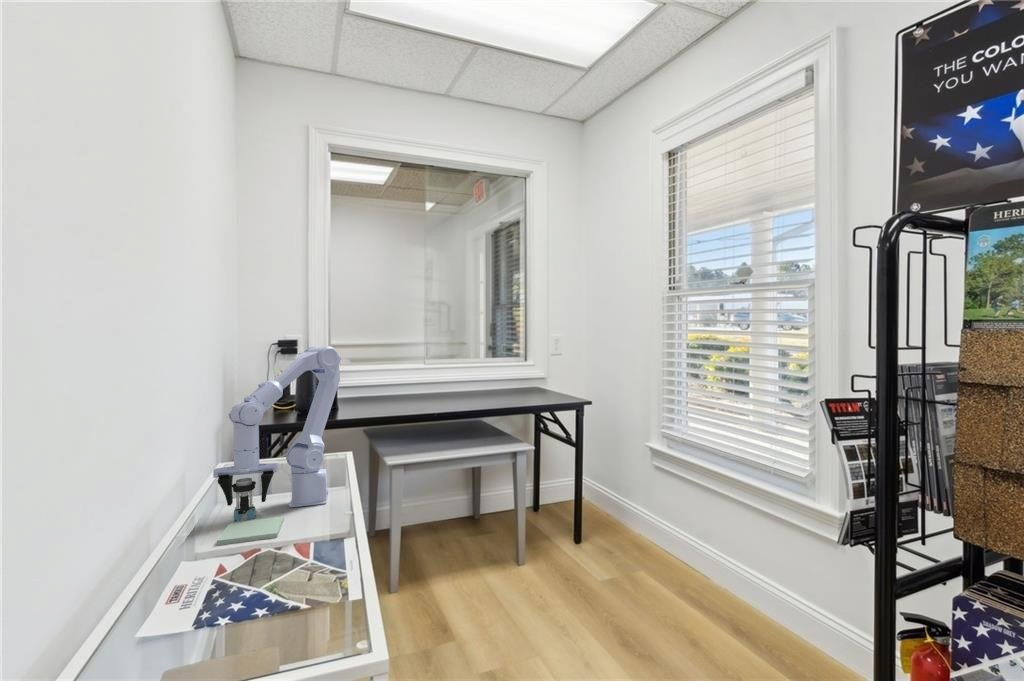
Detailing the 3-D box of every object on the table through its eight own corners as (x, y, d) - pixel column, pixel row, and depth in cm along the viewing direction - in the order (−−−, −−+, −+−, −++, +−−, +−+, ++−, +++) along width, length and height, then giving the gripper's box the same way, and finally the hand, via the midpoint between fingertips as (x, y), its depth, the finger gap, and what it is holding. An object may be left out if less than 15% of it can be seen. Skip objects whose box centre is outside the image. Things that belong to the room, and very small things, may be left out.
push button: (262, 513, 129) (261, 475, 129) (262, 519, 124) (261, 480, 124) (233, 518, 126) (232, 479, 126) (231, 524, 121) (231, 483, 122)
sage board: (283, 520, 123) (283, 516, 123) (277, 537, 112) (277, 532, 112) (229, 527, 120) (229, 522, 120) (217, 545, 108) (217, 540, 108)
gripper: (209, 454, 119) (210, 510, 119) (275, 449, 124) (276, 503, 124) (217, 449, 126) (217, 502, 126) (279, 444, 131) (279, 496, 130)
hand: (247, 502), depth 125 cm, fingers open, 7 cm apart
